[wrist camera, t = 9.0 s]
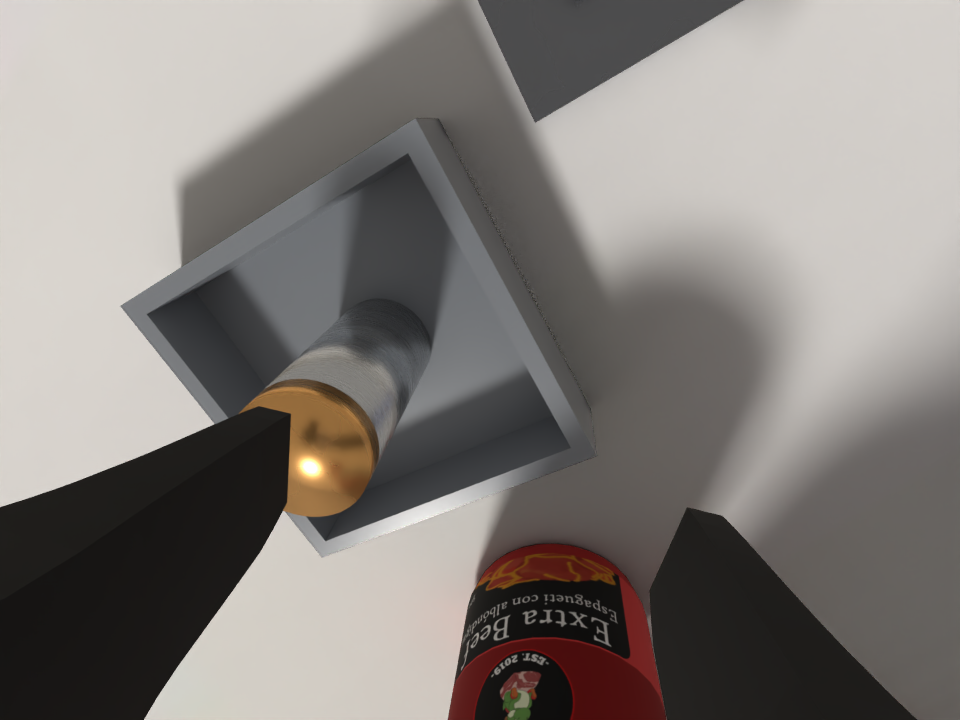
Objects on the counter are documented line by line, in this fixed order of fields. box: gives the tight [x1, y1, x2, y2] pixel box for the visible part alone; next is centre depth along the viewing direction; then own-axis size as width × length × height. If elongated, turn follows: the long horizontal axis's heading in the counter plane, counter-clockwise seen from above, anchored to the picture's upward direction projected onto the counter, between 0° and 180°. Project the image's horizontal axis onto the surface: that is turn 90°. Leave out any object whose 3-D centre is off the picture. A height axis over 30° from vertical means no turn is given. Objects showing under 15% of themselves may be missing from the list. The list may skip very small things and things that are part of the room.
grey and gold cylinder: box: [239, 299, 431, 517], centre depth 16 cm, size 3×3×7 cm
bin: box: [121, 118, 597, 557], centre depth 18 cm, size 11×11×3 cm
